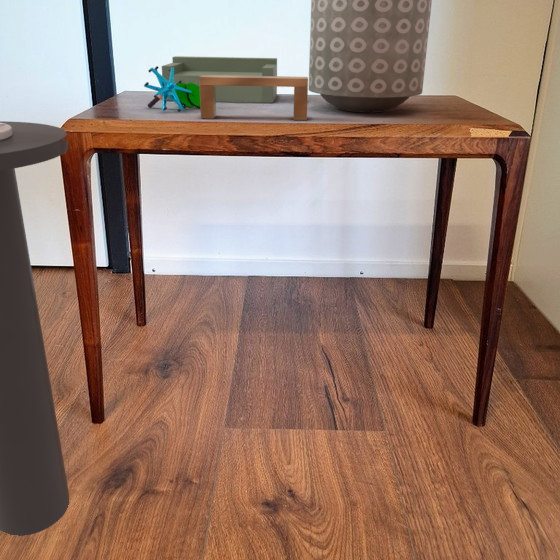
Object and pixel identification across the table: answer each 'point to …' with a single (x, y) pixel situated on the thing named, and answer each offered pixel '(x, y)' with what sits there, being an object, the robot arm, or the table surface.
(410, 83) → the planter
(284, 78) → the wooden bench stand
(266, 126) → the table surface
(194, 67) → the sofa
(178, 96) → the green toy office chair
